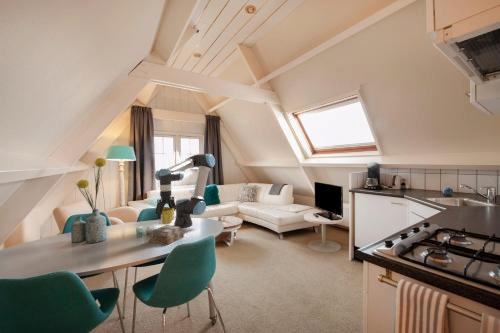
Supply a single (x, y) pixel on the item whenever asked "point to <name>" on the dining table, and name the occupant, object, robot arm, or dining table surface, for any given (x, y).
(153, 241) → the tower plinth
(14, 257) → the dining table surface
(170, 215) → the plant pot
